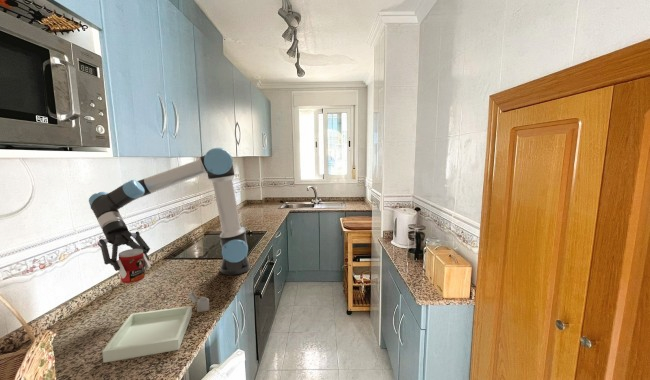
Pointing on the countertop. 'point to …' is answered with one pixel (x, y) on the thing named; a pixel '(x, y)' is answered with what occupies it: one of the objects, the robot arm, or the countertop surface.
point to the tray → (149, 334)
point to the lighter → (200, 302)
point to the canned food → (132, 265)
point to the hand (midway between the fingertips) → (137, 272)
